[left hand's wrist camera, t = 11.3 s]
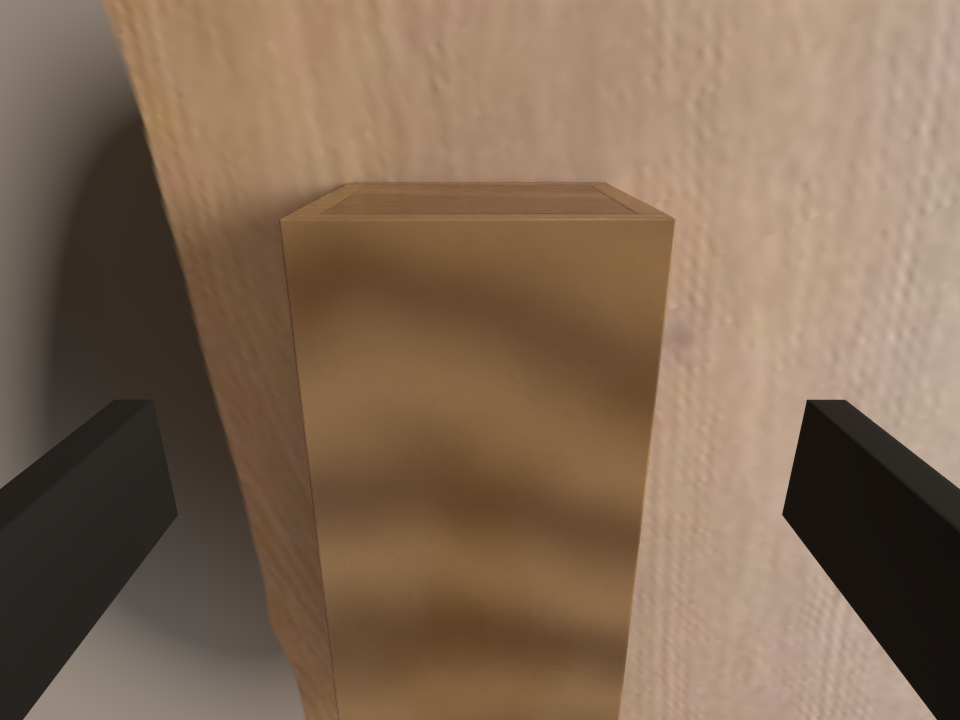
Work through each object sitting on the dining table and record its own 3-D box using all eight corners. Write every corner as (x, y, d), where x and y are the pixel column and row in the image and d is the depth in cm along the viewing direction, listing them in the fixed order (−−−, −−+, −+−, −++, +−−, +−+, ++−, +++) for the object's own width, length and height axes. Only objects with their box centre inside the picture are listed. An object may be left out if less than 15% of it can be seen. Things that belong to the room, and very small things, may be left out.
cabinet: (579, 553, 33) (619, 723, 24) (377, 554, 33) (338, 724, 24) (606, 182, 26) (677, 218, 17) (349, 182, 26) (278, 218, 17)
